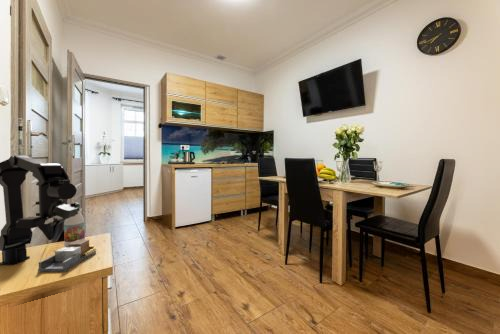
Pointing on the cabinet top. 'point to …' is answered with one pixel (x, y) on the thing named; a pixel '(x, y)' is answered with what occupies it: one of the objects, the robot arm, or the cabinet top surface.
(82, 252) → the housing
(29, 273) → the cabinet top surface
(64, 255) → the light grey block
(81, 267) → the cabinet top surface
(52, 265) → the grey tray
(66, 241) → the milk bottle
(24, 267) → the cabinet top surface
